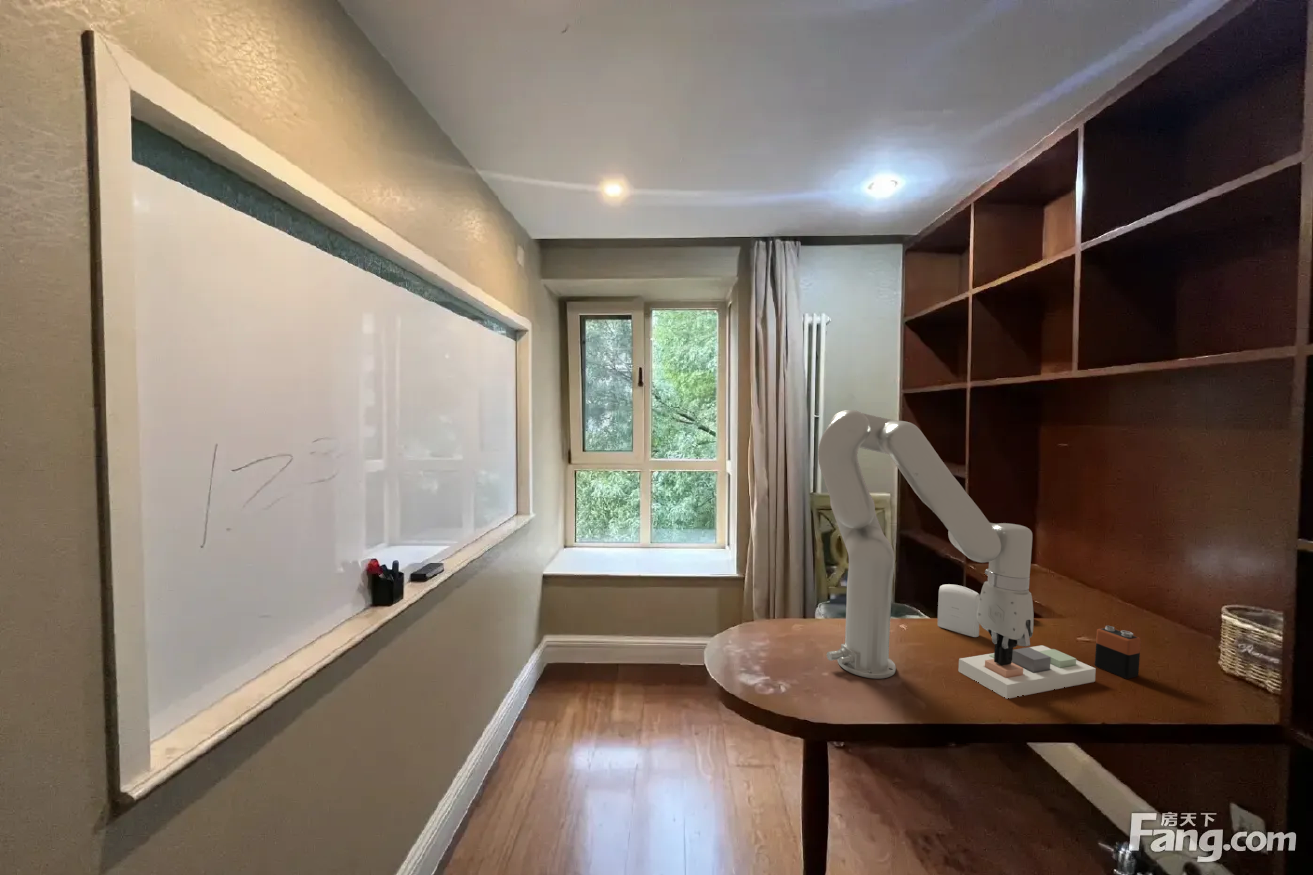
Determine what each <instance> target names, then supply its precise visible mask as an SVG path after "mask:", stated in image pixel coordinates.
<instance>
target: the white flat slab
mask: <svg viewBox="0 0 1313 875" xmlns="http://www.w3.org/2000/svg"><path fill="white" fill-rule="evenodd" d="M1029 647H1030V648H1032V649H1034V650H1036V651H1044V650H1050V649H1051V648H1050V647H1048V646H1046V645H1036V646H1029ZM990 659H994V652H993V653H991V652H990V653H986V654H979V655H974V656H968V657H967V656H966V657H959V659H958V672H959V673H961V674H962V675H964V676H965V677H968V678H970V679H971V680H973V681H974V680H975V681H974V682H976V681H977V682H976V683H978V682H979V683H978V684H979V685H981V686H982V687H983V686H984V687H986V688H987V689H989V690H990V691H992V690H993V691H992V692H995V693H996V694H997V695H999V696H1001V697H1003V698H1004V697H1005V698H1004V699H1008V698H1009V699H1014V698H1018V697H1017V696H1019V697H1023V696H1022V695H1024V696H1028V695H1033V694H1037V693H1045V692H1049V691H1053V690H1054V689H1055V690H1059V689H1064V687H1065V688H1069V687H1073V686H1074V687H1075V686H1080V685H1084V684H1090V683H1094V682H1096V671H1097V670H1096V669H1097V668H1096V667H1093V666H1092V665H1091V666H1090V665H1088V664H1087V663H1084V662H1082V661H1079V660H1077V659H1076V666H1071V667H1065V668H1058V667H1056V666H1054V665H1052V664H1050V670H1049V671H1043V672H1038V673H1032V672H1030V671H1028V670H1026V669H1024V668H1023V675H1021V676H1016V677H1010V678H1004V677H1002V676H1001V675H999V674H997V673H995V672H993V671H991V670H989V669H987V668H985V660H990Z"/></svg>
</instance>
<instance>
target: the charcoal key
mask: <svg viewBox="0 0 1313 875" xmlns="http://www.w3.org/2000/svg"><path fill="white" fill-rule="evenodd" d="M1030 647H1031V646H1026V647H1022V648H1021V647H1020V648H1017V649H1013V655H1012V663H1014V664H1016V665H1018V666H1020V667H1022V668H1024V669H1026V670H1028V671H1030V672H1032V673H1038V672H1043V671H1049V670H1050V661H1051V657H1050V656H1047V655H1045V654H1043V653H1041V652H1038V651H1036V650H1034V649H1032V648H1030Z"/></svg>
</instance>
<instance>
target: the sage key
mask: <svg viewBox="0 0 1313 875" xmlns="http://www.w3.org/2000/svg"><path fill="white" fill-rule="evenodd" d="M1038 652H1041V653H1043V654H1045V655H1047V656H1050V657H1051V661H1050V664H1052V665H1054V666H1056V667H1058V668H1065V667H1071V666H1076V660H1077V658H1076V657H1073V656H1071V655H1069V654H1067V653H1064V652H1062V651H1060V650H1058V649H1055V648H1050V650H1044V651H1038Z"/></svg>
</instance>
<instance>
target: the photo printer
mask: <svg viewBox="0 0 1313 875" xmlns="http://www.w3.org/2000/svg"><path fill="white" fill-rule="evenodd" d="M979 599H980V593H978V592H977V591H975V590H973V589H971V588H968V587H966V586H964V585H963V586H962V585H958V584H950V583H948V584H942V585H940V586H939V589H938V602H937V605H938V606H937V626H938V628H942V629H946V630H949V631H952V632H954V633H958V634H962V635H965V636H968V637H972V638H977V637H979V636H980V624H979V623H978V621H977V613H978V605H979Z"/></svg>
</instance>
